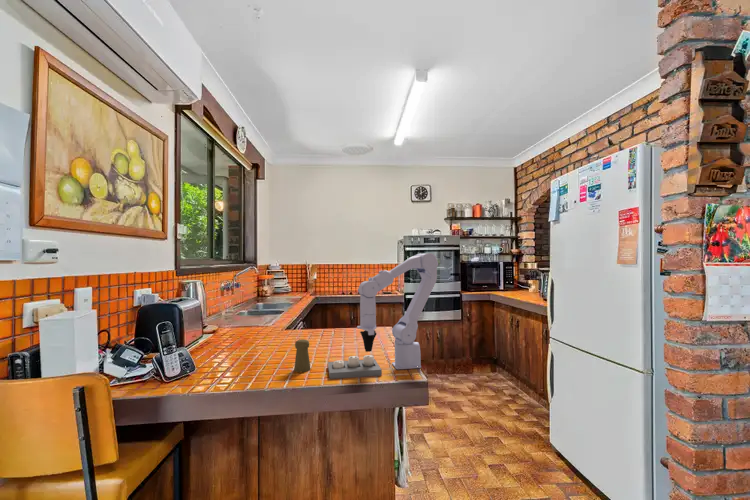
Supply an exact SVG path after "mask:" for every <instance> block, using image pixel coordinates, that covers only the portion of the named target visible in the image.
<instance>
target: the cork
mask: <svg viewBox="0 0 750 500" xmlns="http://www.w3.org/2000/svg"><path fill="white" fill-rule="evenodd" d="M294 347H295V349H296V350H295V351H296V352H295V357H294V358H295V360H294V367H293V368H294V369H293V371H294V372H296V373H306V372H309V371H311V370H312V369H311V361H310V355H309V347H310V341H309V340H308V339H302V338H301V339H298V340H296V341H295V343H294Z"/></svg>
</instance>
